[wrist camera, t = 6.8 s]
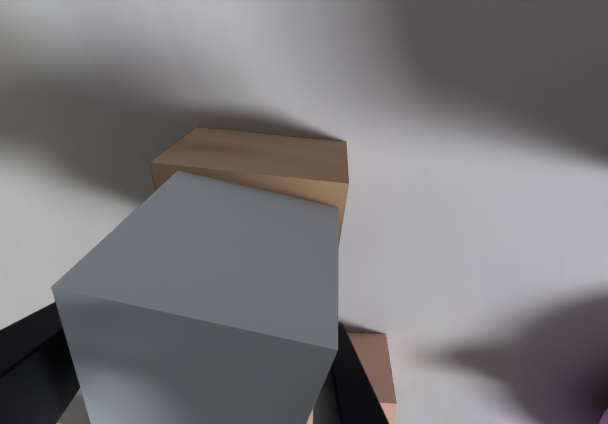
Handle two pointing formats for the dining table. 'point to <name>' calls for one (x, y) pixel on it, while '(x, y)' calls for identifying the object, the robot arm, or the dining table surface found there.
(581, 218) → the dining table surface
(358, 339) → the terracotta cube
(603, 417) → the teapot
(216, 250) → the slate cube
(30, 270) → the dining table surface
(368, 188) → the dining table surface
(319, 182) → the walnut block
